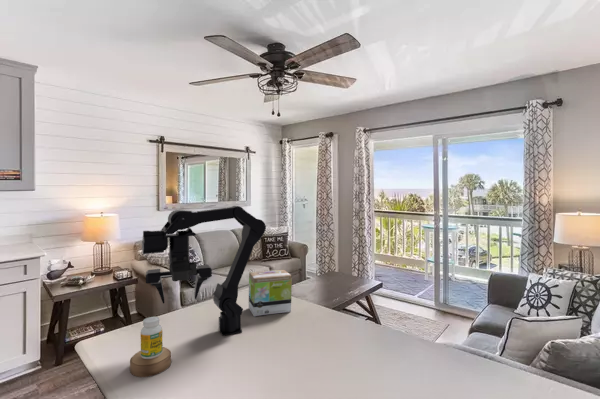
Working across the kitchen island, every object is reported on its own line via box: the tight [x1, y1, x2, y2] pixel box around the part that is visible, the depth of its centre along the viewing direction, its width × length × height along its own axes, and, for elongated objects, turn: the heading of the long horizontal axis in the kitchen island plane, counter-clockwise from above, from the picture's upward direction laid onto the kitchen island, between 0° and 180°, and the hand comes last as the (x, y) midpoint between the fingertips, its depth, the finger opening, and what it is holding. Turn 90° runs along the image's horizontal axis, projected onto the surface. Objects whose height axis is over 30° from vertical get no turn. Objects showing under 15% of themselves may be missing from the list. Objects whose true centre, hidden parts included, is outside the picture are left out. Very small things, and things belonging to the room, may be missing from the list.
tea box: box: [248, 269, 293, 317], centre depth 125 cm, size 15×10×15 cm
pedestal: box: [129, 346, 172, 378], centre depth 86 cm, size 10×10×3 cm
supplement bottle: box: [140, 316, 164, 359], centre depth 85 cm, size 5×5×10 cm
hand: (179, 301), depth 98 cm, fingers open, 9 cm apart
